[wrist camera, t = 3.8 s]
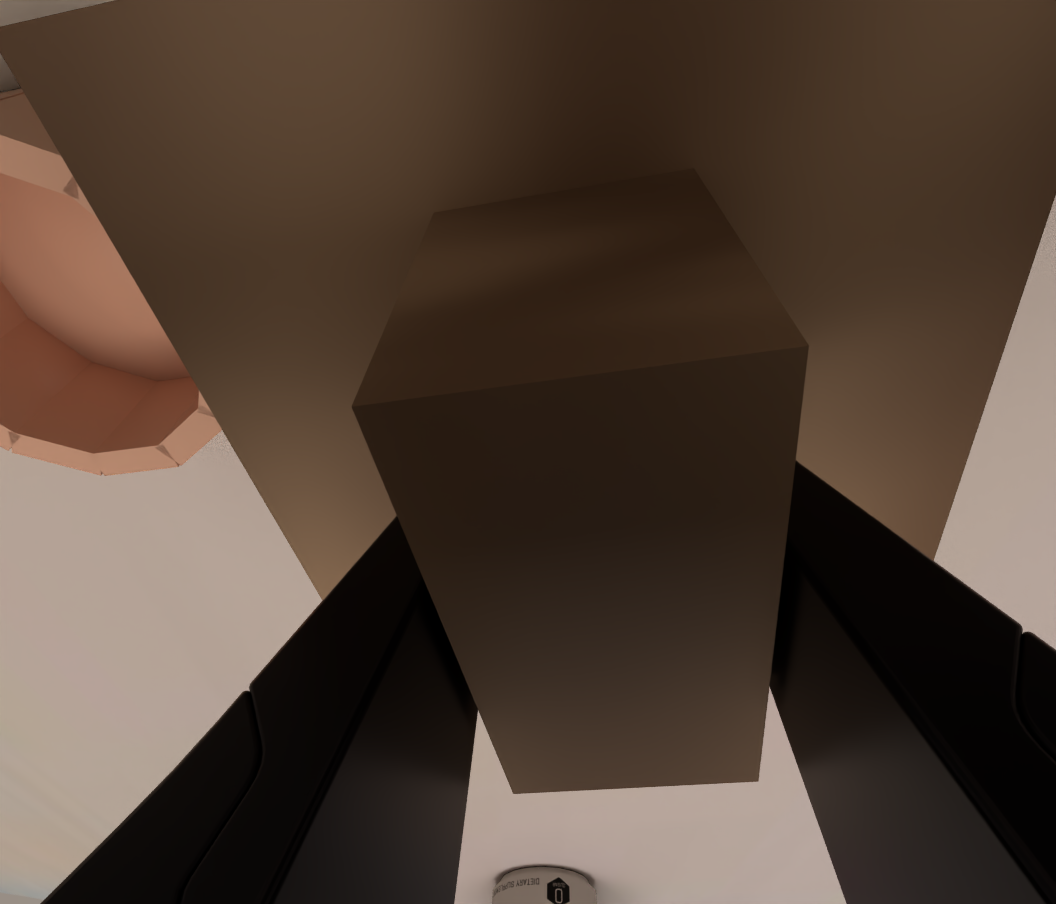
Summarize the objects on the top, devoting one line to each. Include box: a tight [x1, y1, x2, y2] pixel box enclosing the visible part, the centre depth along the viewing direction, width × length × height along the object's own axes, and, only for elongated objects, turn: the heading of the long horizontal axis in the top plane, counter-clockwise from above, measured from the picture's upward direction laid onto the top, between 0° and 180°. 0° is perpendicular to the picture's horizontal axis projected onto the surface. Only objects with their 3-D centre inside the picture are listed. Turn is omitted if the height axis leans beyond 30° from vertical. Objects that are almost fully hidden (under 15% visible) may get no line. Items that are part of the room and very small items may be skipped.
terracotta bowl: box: [0, 89, 222, 476], centre depth 17 cm, size 9×9×4 cm
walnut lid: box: [0, 0, 1056, 794], centre depth 8 cm, size 11×11×5 cm
